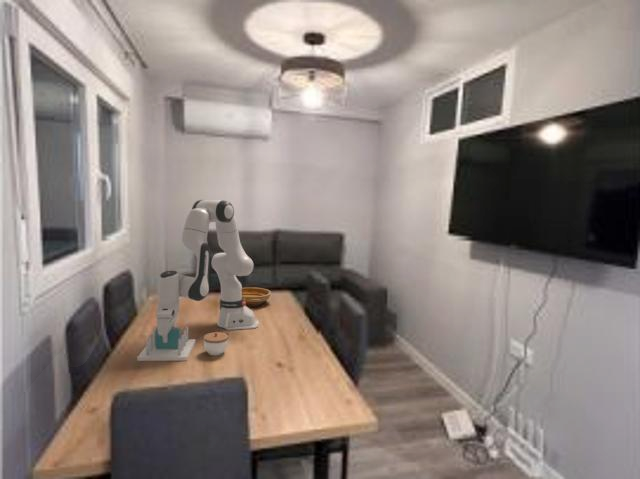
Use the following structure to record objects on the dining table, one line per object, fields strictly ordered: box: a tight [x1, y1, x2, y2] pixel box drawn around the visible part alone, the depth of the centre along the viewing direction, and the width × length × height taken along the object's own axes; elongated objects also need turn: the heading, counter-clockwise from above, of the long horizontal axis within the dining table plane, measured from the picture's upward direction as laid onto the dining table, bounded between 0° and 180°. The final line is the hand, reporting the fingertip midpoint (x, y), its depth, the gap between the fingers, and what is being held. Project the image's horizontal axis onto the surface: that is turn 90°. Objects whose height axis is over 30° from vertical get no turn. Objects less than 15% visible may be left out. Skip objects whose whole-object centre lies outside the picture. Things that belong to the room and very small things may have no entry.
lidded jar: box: [203, 331, 229, 357], centre depth 173 cm, size 11×11×9 cm
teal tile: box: [155, 327, 182, 349], centre depth 172 cm, size 10×2×9 cm, turn 97°
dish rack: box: [136, 326, 196, 362], centre depth 172 cm, size 20×20×8 cm
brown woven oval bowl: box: [242, 287, 272, 307], centre depth 252 cm, size 30×24×8 cm
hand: (168, 337), depth 172 cm, fingers open, 8 cm apart
